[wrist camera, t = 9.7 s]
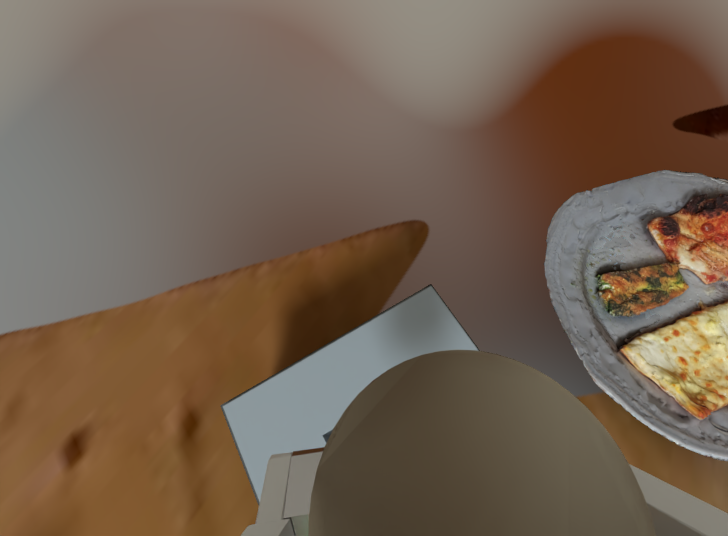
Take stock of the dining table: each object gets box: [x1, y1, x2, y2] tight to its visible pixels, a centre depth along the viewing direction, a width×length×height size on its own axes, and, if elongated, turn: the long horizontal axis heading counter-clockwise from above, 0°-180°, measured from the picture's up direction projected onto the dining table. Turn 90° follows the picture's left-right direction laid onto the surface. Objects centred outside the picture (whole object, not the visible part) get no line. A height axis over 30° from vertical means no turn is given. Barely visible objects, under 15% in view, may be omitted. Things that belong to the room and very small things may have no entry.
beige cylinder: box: [308, 350, 656, 536], centre depth 9 cm, size 4×4×10 cm
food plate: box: [544, 170, 728, 461], centre depth 29 cm, size 25×23×4 cm
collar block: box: [220, 284, 480, 505], centre depth 22 cm, size 14×14×8 cm
